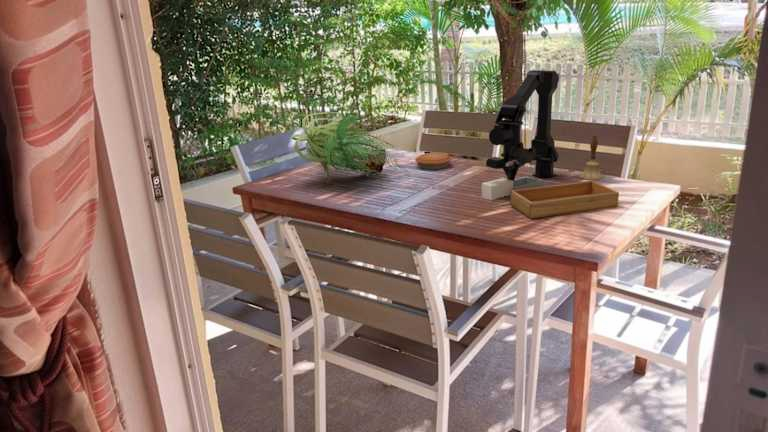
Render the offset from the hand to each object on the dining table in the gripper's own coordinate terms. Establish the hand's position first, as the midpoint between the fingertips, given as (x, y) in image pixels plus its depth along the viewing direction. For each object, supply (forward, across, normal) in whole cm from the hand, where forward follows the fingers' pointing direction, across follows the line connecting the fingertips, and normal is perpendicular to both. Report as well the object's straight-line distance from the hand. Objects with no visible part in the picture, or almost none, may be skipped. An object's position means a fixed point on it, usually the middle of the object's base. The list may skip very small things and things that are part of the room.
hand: (511, 182), depth 214 cm
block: (+4, -6, 0) cm, 7 cm away
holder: (+4, +4, 0) cm, 6 cm away
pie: (+4, +1, +48) cm, 49 cm away
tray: (+4, +3, -22) cm, 22 cm away
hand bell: (+4, +35, -5) cm, 36 cm away
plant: (+4, -36, +50) cm, 62 cm away
